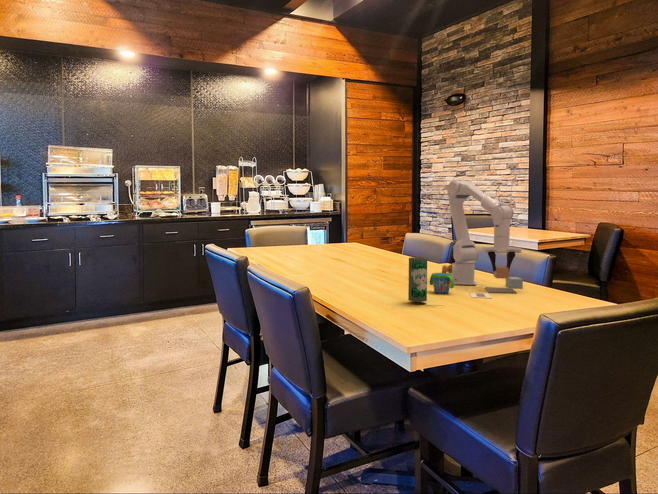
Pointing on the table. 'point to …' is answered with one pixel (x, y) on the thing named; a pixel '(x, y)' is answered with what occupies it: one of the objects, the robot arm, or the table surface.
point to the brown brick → (501, 272)
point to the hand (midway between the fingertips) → (500, 271)
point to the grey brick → (514, 283)
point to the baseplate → (500, 290)
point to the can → (417, 279)
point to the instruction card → (480, 295)
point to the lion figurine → (447, 269)
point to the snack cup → (441, 282)
